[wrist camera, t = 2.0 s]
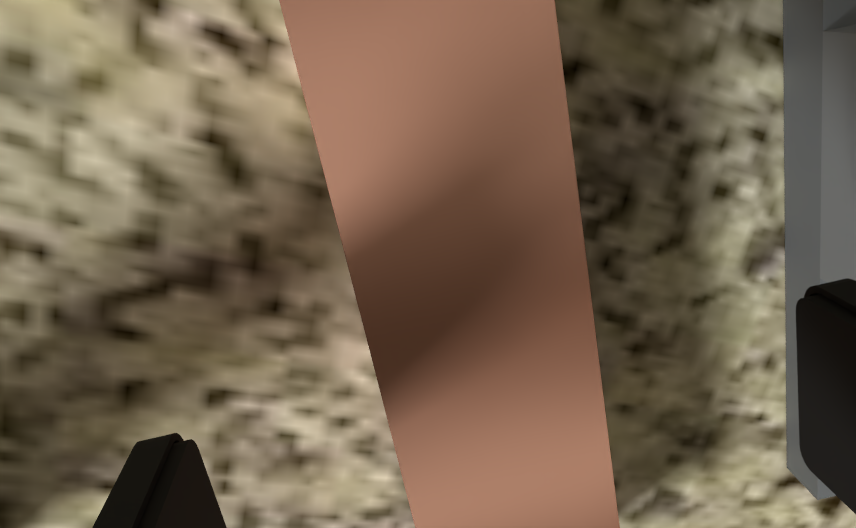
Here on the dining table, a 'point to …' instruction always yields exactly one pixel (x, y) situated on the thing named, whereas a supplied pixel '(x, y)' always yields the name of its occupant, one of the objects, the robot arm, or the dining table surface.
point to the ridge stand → (817, 173)
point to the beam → (464, 250)
